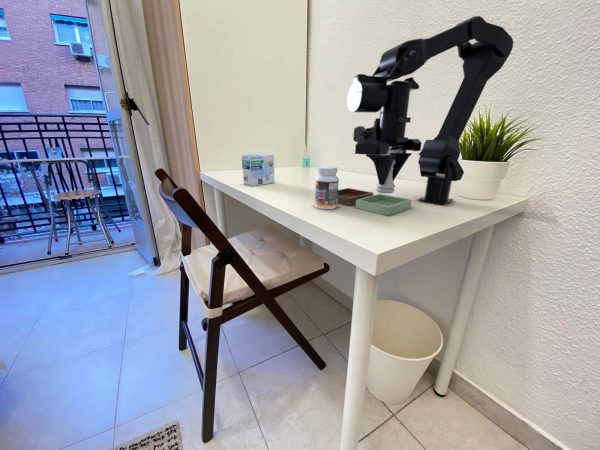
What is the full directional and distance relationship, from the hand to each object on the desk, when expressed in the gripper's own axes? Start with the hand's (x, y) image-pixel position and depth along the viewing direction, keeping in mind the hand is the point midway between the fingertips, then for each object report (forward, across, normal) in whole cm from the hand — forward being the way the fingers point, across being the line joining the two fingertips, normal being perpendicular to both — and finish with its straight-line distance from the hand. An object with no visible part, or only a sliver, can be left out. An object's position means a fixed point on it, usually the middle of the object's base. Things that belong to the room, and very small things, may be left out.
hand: (386, 183), depth 59 cm
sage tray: (+6, 0, 0) cm, 6 cm away
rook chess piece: (+2, 0, 0) cm, 2 cm away
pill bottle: (+6, +10, -10) cm, 16 cm away
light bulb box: (+6, +5, -51) cm, 52 cm away
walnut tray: (+6, 0, -11) cm, 13 cm away
